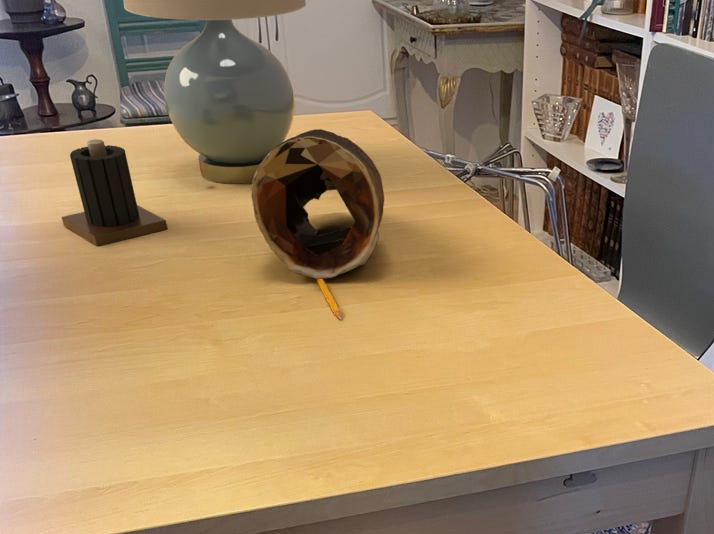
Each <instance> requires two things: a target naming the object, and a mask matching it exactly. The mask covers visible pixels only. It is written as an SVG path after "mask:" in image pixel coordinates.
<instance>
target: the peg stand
mask: <svg viewBox="0 0 714 534" xmlns="http://www.w3.org/2000/svg"><path fill="white" fill-rule="evenodd" d="M86 144H87V147H88V149H89V153H90V157H101V156H107V154H106V149H105V146H106V145H105V141H104V140H103V139H99V138H98V139H89V140H88V141H87V142H86ZM137 208H138V212H139V218H137V219H136V220H135V221H133V222H129V223H128V224H123V225H118V224H117V226H105V225H104V226H98V225H94V224H90V223H89V222H87V220H86V216H85V212H84V211H81V212H78V213H71V214H69V215H68V214H67V215H63V216H61V222H62V224H63V226H64V227H65V228H67V229H68V230H69V231H72V232H73V233H75V234H76V235H78V236H80V237H81V238H83V239H85V240H86V241H89V243H91V244H93V245H94V246H96V247H100V246H104V245H108V244H112V243H115V242H120V241H125V240H129V239H133V238H137V237H141V236H145V235H149V234H153V233H158V232H162V231H165V230H168V224H167V219H165V218H163V217H161V216H159V215H157V214H155V213H153V212H152V211H150V210H148V209H146V208H144V207H142V206H140V205H138V204H137Z"/></svg>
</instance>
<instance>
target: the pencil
mask: <svg viewBox="0 0 714 534" xmlns="http://www.w3.org/2000/svg"><path fill="white" fill-rule="evenodd" d="M315 281H316V282H317V284H318V286H319V288H320V290H321V292H322V293H323V295H324V297H325V299H326V301H327V303H328V305H329V306H330V308H331V310H332V313H333V314H334V316H335V317H336V318H338V319H339V320H342V312H341V310H340V308H339V306H338V304H337V302H336V301H335V299H334V297H333V294H332V293H331V292H330V291H331V290H330V289H329V287H328V286H327V284H326V282H325V279H324V278H315Z"/></svg>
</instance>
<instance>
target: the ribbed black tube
mask: <svg viewBox="0 0 714 534" xmlns="http://www.w3.org/2000/svg"><path fill="white" fill-rule="evenodd" d="M105 149H106V154H107V156H101V157H90V153H89V149H88V146H84V147H80V148H76V149H75V150H74V149H73V150H72V151H71V152H70V154H69V157H70V161H71V162H70V163H71V165H72V169H73V173H74V177H75V181H76V185H77V189H78V192H79V196H80V200H81V204H82V208H83V212H85V216H86V220H87V222H89V223H90V224H94V225H98V226H104V225H105V226H117V224H118V225H123V224H128V223H129V222H133V221H135V220H136V219H137V218H139V212H138V208H137V205H138V203H137V199H136V194H135V190H134V185H133V181H132V176H131V172H130V168H129V162H128V158H127V154H126V153H127V152H126V150H125V148H124V147H121V146H117V145H110V144H108V145H105Z"/></svg>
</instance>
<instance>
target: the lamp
mask: <svg viewBox="0 0 714 534" xmlns="http://www.w3.org/2000/svg"><path fill="white" fill-rule="evenodd" d="M122 2H123V8H124V10H125V11H127V12H128V13H131V14H134V15H139V16H142V17H143V16H144V17H149V18H154V19H155V18H156V19H165V20H166V19H167V20H181V21H205V23H204V28H203V29H202V30H201V32H200V33H199V34H198V35H197V36H196V37H195V38H194V39H192V40H190V41H189V42H188V43H186V44H185V45H184V46H183V47H181V49H180V50H178V51H177V52H176V54H175V55H174V56H173V57H172V59H171V61H170V62H169V64H168V67H167V69H166V72H165V77H164V83H163V96H164V98H163V99H164V103H165V108H166V111H167V115H168V117H169V120H170V121H171V122H172V125H173V127H174V129H175V131H176V132H177V134H178V135H179V136H180V137H181V139H182V140H183V141H184V142H185V144H187V145H188V146H189V147H190V148H191V149H192V150H193V151H195V152H196V153H198V154H199V155H198V163H199V169H200V170H199V171H200V175H201V177H202V178H203V179H205V180H208V181H210V182H214V183H220V184H230V185H233V184H234V185H235V184H236V185H237V184H240V185H241V184H242V185H243V184H252V181H253V178H254V175H255V173H256V170H257V168H258V166H259V165H260V164H261V163H262V161H263V160H264V159H265V157H266V156H267V155H268V154H269V153H270V152H271V151H272V150H273V149H274V148H275V147H276V146H278V145H279V144H281V143H282V142H284V141H286V138H287V137H288V134H289V132H290V131H291V128H292V124H293V120H294V116H295V107H296V105H295V94H294V89H293V84H292V82H291V79H290V76H289V74H288V73H287V71H286V68H285V66H284V65H283V63H282V62H281V61H280V59H279V58H278V57H277V56H276V55H275V54H274V53H273V52H272V51H271V50H269V49H268V48H267V47H265V46H264V45H263V44H261V43H259V42H257V41H256V40H253V39H252V38H250V37H249V36H247V35H245V34H244V33H242V32H241V31H240V30H239V29H238V28H237V26H235V24H234V22H233V20H246V19H247V20H248V19H258V18H259V19H260V18H267V17H274V16H281V15H285V14H290V13H294V12H296V11H300V10H301V9H304V8H305V7H306V6H307V2H306V0H122Z"/></svg>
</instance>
